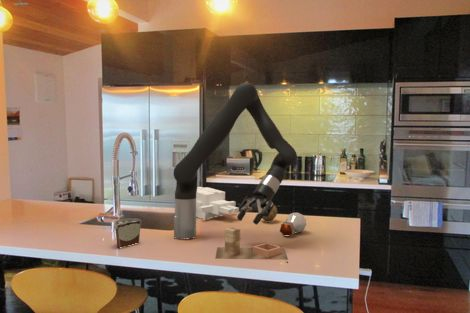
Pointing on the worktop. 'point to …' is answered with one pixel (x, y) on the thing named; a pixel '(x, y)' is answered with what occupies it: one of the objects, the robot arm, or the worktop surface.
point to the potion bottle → (293, 224)
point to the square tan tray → (267, 250)
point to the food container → (127, 231)
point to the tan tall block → (232, 241)
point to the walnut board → (247, 254)
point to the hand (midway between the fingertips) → (246, 221)
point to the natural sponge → (271, 214)
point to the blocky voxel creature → (213, 203)
